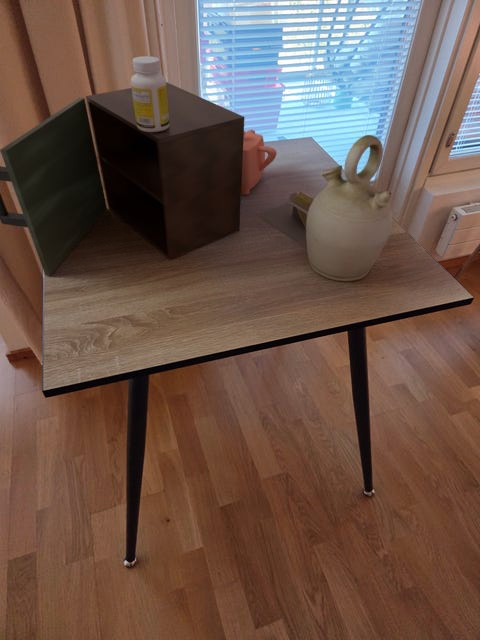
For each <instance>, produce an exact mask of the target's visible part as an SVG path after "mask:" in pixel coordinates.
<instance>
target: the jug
mask: <svg viewBox="0 0 480 640" xmlns="http://www.w3.org/2000/svg"><path fill="white" fill-rule="evenodd" d="M367 149H369V154H368V158H367V161H366V164H365V166H364V167H363V168H362V170H361V171H359V172H358V165H359V163H360V160H361V158H362V156H363V154H364V153H365V152H366V151H367ZM383 156H384V147H383V143H382V141H381V140H380V139H379V138H378V137H377V136H375V135H373V134H366V135H363V136H361V137H359V138H358V139H357V140H356V141H355V142H354V143H353V144H352V145H351V147H350V149H349V151H348V152H347V154H346V158H345V161H344V169H343V165H340V164H339V165H337V166H334V167H331V168H329V169H326V170H323V171H322V172H321V173H320V174H321V176H322V177H323V178H324V179H325V181H326V182H327V185H326V186H325V188H323V189H322V190H320V191H319V193H317V195H316V196H315V198H313V199H314V200H313V199H312V200H313V202H312V204H311V206H310V208H309V211H308V214H307V220H306V240H307V250H306V252H307V257H308V259H307V260H308V263H309V266H310V267H311V269H312V270H313V271H314V272H315V273H317V274H318V275H320V276H321V277H324V278H326V279H328V280H333V281H338V282H355V281H359V280H361V279H363V278H364V277H366V276H367V275H368V274H369V273H370V270H371V269H372V267H374V265H375V263H376V262H377V260H378V258H379V256H380V254H381V253H382V251H383V250H384V247H385V245H386V244H387V242H388V241H389V238H390V236H391V232H392V228H393V210H392V206H391V203H390V200H391V198H392V192H391V191H390V190H385V191H381V190H379V189H378V188H377V187H376V186H374V185H372V184H371V182H370V181H371V180H372V178H373V177H374V176H375V175H376V174H377V172H378V170H379V168H380V166H381V163H382V160H383ZM342 170H344V176H345V178H346V179H344V178H343V176H342V175H343V171H342Z"/></svg>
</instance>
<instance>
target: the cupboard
mask: <svg viewBox="0 0 480 640" xmlns="http://www.w3.org/2000/svg"><path fill="white" fill-rule="evenodd" d="M166 88H167V101H168V112H169V127H168V129H166V130H164V131H160V132H145V131H142V130H140V129H139V128H138V127H137V124H136V117H135V110H134V102H133V95H132V88H131V87H128V88H124V89H117V90H112V91H108V92H106V91H105V92H100V93H96V94H90V95H89V94H88V95H85V101H86V106H87V111H88V116H89V121H90V126H91V131H92V136H93V138H94V139H93V141H94V146H95V151H96V155H97V160H98V165H99V170H100V175H101V180H102V185H103V190H104V195H105V200H106V205H107V209H109V210H110V211H111V212H112V213H113V214H114V215H116V216H117V217H118V218H120V219H121V220H122V221H123V222H124V223H125V224H127V225H128V226H129V227H130V228H131V229H132V230H134V231H135V232H136V233H137V234H138V235H139V236H141V237H142V238H143V239H145V240H146V241H147V243H149V244H150V245H152V246H153V247H154V248H155V249H156V250H158V251H159V252H160V253H161V254H162V255H163V256H164V257H165V258H167V259H168V260H169V261H172V260H175V259H177V258H179V257H182V256H184V255H187V254H188V253H191V252H193V251H196V250H198V249H200V248H203V247H205V246H207V245H210V244H212V243H214V242H216V241H219V240H222V239H224V238H226V237H228V236H231V235H233V234H235V233H238V232H240V230H241V229H240V227H241V206H242V194H241V186H242V163H243V141H244V131H245V116H243V115H241V114H239V113H237V112H234V111H232V110H230V109H228V108H226V107H224V106H221V105H219V104H217V103H215V102H212V101H210V100H207V99H206V98H203V97H200V96H199V95H197V94H195V93H193V92H190V91H187V90H186V89H183V88H181V87H178V86H176V85H174V84H173V83H169V82H167V81H166Z"/></svg>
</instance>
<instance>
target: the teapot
mask: <svg viewBox="0 0 480 640" xmlns="http://www.w3.org/2000/svg"><path fill="white" fill-rule="evenodd" d="M266 153H267V157H266ZM276 157H277V150H276V149H275V148H273V147H271V146H265V142H264V136H263V135H262V134H259V133H256V131H255V130H254V129H248V130H247V131H245V130H244V141H243V163H242V186H241V195H244V196H245V195H246V196H247V195H249V194H250V190H251V189H253V188H254V187H255V186H256V185H257V184H258V183H259V181H260V180H261V178H262V176H263V174H264V171H265V168H267V167H268V166H269V165H270V164H272V163H273V162H274V160H275V159H276Z"/></svg>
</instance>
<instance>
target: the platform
mask: <svg viewBox="0 0 480 640" xmlns="http://www.w3.org/2000/svg"><path fill="white" fill-rule="evenodd" d="M314 199H315V198H312V196H309V195H307V194H306V193H304V192H302V191H301V190H300V191H299V193H298V192H296V191H295V192H292V193H290V195H289V198H288V202H285V203H282V204H280V205H276V206H274V207H272V208H269V209H266V210H263V211H260V212H257V213H256V215H257V216H258V217H259V218H261V219H262V220H264V222H266V223H268V224H269V225H270V226H272V227H274V228H275V229H277V230H278V231H279V232H281V233H282V234H284V235H285V236H286V237H288V238H289V239H291V240H292V241H294V242H295V243H296V244H298V245H299V246H300V247H302V248H304V249H305V250H306V251H307V240H306V220H307V214H308V211H309V208H310V206H311V204H312V202H313V200H314Z"/></svg>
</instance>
